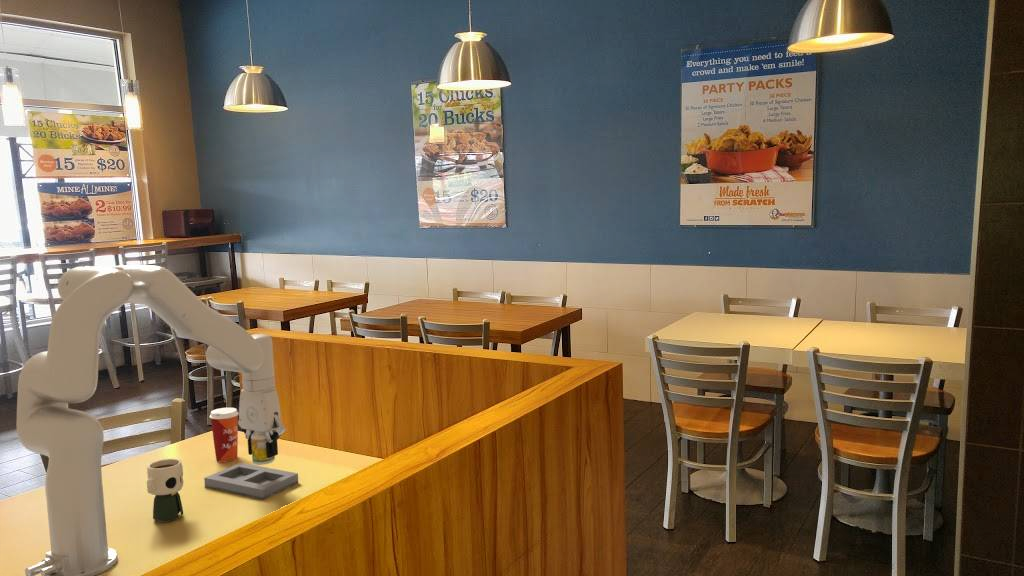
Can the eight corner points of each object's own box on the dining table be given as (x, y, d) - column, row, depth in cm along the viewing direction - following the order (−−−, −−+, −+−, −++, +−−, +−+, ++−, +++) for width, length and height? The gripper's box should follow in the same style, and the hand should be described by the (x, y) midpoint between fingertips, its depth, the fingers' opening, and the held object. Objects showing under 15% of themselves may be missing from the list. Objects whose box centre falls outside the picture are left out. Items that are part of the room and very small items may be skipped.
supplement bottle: (274, 463, 181) (272, 426, 180) (252, 466, 179) (249, 428, 178) (275, 456, 186) (272, 420, 185) (252, 459, 184) (250, 422, 183)
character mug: (164, 530, 160) (160, 473, 158) (137, 527, 161) (133, 470, 160) (197, 510, 170) (194, 456, 169) (171, 507, 172) (167, 454, 170)
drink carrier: (263, 499, 175) (262, 489, 175) (204, 487, 184) (204, 477, 184) (298, 482, 186) (297, 473, 186) (241, 471, 195) (240, 462, 195)
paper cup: (231, 464, 201) (228, 414, 200) (206, 462, 203) (203, 413, 201) (247, 454, 209) (244, 407, 207) (223, 453, 210) (220, 406, 209)
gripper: (222, 384, 181) (226, 454, 183) (273, 391, 173) (278, 464, 175) (245, 377, 187) (249, 445, 189) (295, 383, 180) (299, 454, 182)
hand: (263, 453), depth 182 cm, fingers closed on supplement bottle, 5 cm apart
